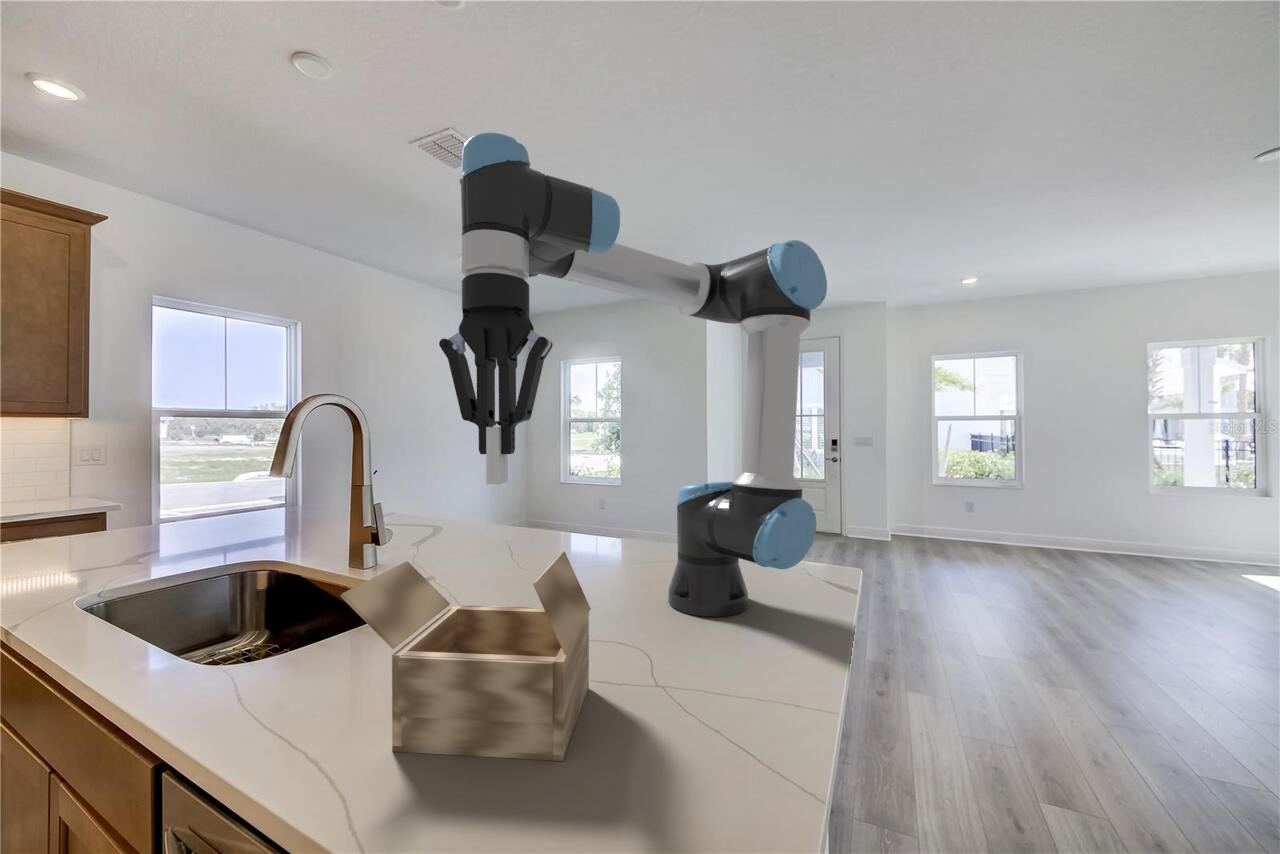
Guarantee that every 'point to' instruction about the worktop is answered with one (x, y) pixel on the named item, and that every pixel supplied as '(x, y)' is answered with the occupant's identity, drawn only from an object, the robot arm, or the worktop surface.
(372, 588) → the flap
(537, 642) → the carton
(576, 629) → the flap
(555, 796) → the worktop surface
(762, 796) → the worktop surface
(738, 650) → the worktop surface
